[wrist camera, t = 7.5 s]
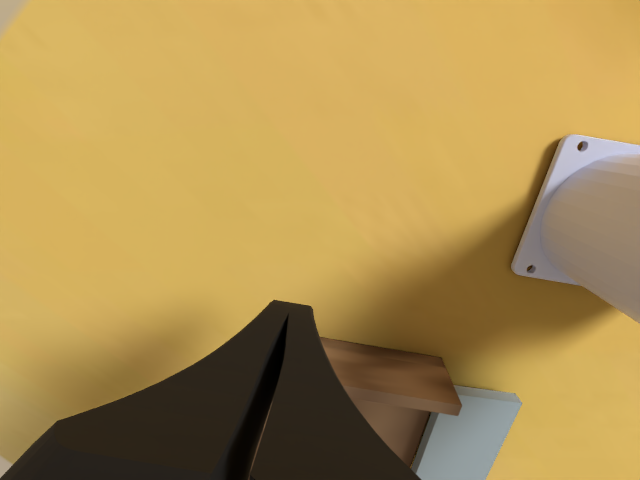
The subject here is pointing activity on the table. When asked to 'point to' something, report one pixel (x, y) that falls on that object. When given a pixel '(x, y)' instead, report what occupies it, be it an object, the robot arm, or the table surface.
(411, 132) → the table surface
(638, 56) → the table surface
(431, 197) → the table surface
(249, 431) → the robot arm
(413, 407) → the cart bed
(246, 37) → the table surface
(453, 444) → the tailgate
